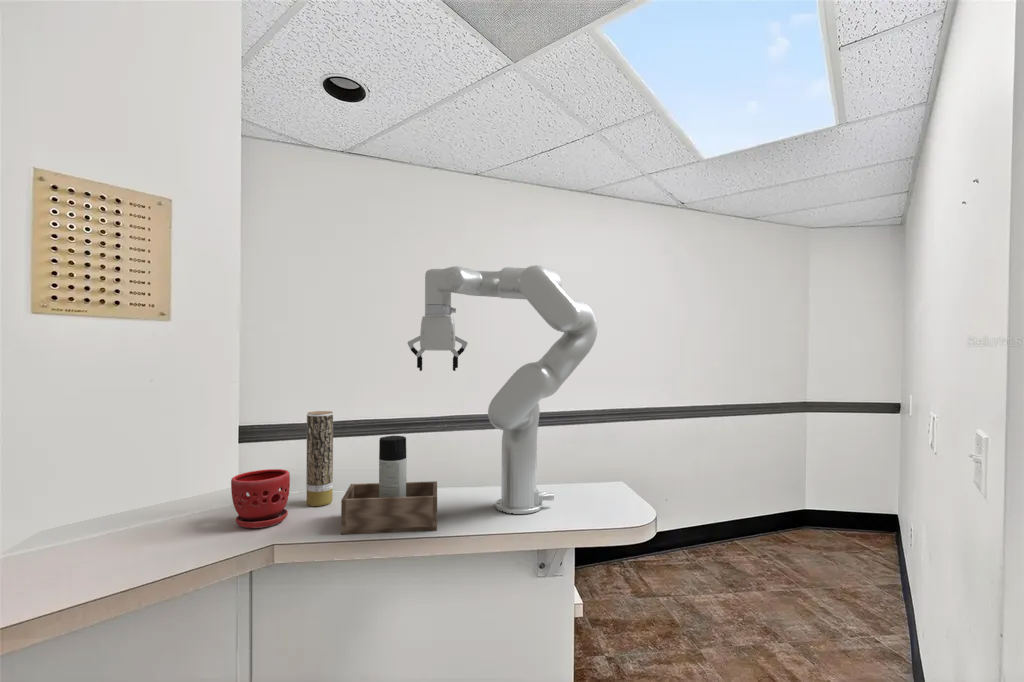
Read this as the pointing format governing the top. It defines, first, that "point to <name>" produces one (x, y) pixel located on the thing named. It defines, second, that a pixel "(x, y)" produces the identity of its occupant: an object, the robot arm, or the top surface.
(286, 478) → the plant pot
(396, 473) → the spray can
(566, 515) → the top surface
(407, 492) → the walnut box
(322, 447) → the paper tube
